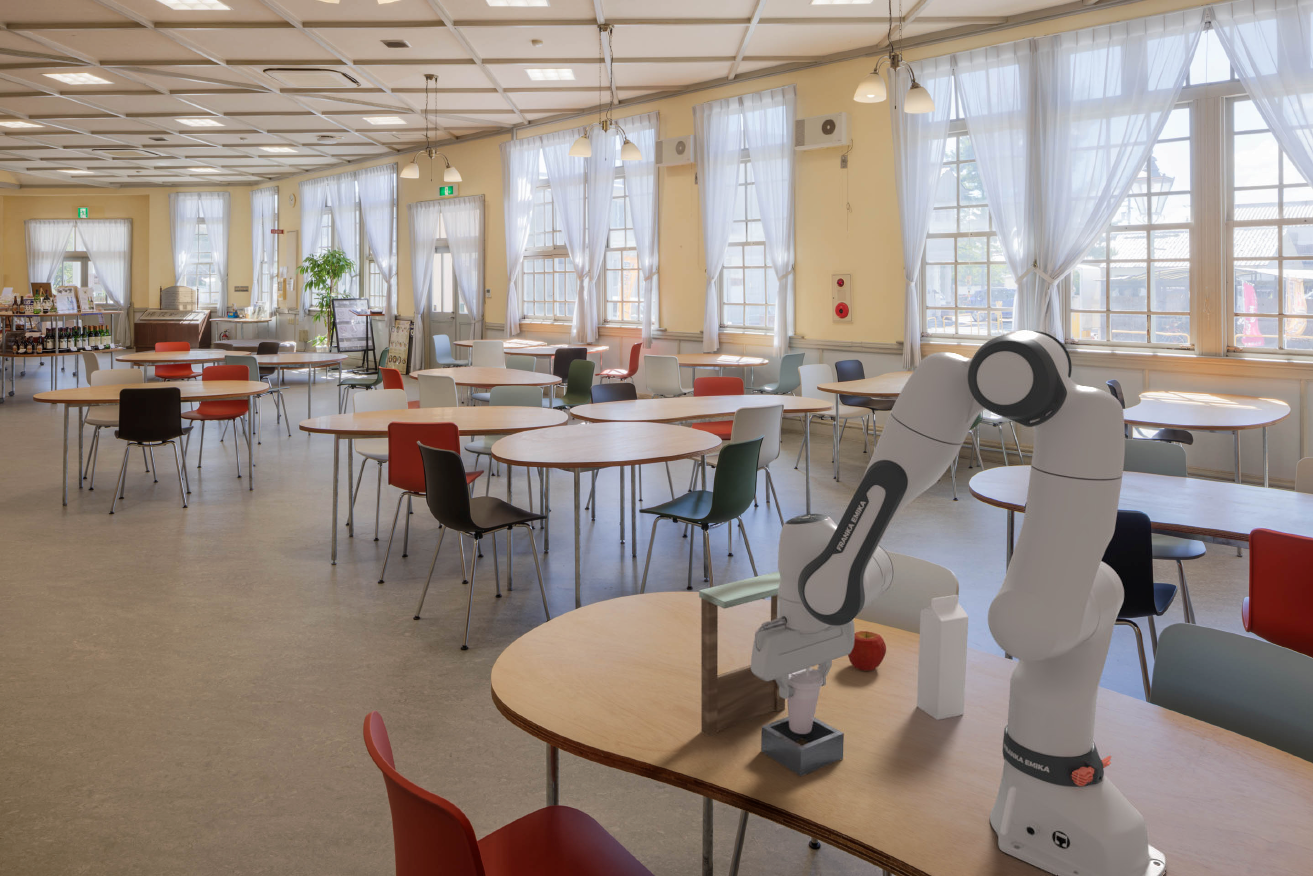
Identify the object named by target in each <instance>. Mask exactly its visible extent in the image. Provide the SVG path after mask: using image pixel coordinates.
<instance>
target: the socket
mask: <svg viewBox="0 0 1313 876" xmlns="http://www.w3.org/2000/svg"><path fill="white" fill-rule="evenodd" d="M760 730H761V733H760V734H761V737H760V738H761V739H760V740H761V741H760V744H761V745H760V747H761V748H760V751H761V752H762V753H763V754H765V755H767V757H770V759H773V760H774V761H776V762H777V763H779V764H781V765H782V766H784V767H786V768H787V769H788V770H790V771H792V772H793V773H794V774H796V775H798V776H799V777H803V776H805V775H808V774H810V773H812V772H815V771H817V770H820V769H821V768H824V767H826V765H827V766H829V765H832V764H833V763H836V762H839V761H840V759H841V760H842V759H844V739H845V738H844V737H845V735H844V732H842V731H841V730H839V729H837V728H836V727H833V726H832V725H829V724H828V723H826V722H824V721H822V720H820V719H819V718H817V717H815V716H814V720H813V725H812V729H811V732H809V733H807V734H798V733H795V732H793V731H791V730H790V728H789V716H786V717H783V718H781V719H778V720H776V721H773V722H770V723H767V724H765V725H761V727H760ZM801 740H804V741H805V742H807V743H805V744H803V745H801V744H799V743H798V741H801Z"/></svg>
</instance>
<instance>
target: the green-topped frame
mask: <svg viewBox="0 0 1313 876" xmlns="http://www.w3.org/2000/svg"><path fill="white" fill-rule="evenodd" d="M779 584H780V574H779V570H778V571H774V572H771V573H766V574H762V575H758V576H753V577H750V578H745V579H742V580H741V579H740V580H737V581H732V582H728V583H725V584H724V583H723V584H721V585H716V586H712V587H708V588H703V589H700V590H698V597H699V598H700V599H701V600H700V601H701V603H700V607H701V609H700V610H701V617H700V619H701V623H700V625H701V628H700V630H701V632H700V633H701V637H700V638H701V641H700V643H701V645H700V646H701V648H700V649H701V653H700V654H701V657H700V658H701V659H700V660H701V663H700V664H701V668H700V670H701V674H700V675H701V677H700V679H701V683H700V684H701V687H700V688H701V689H700V690H701V698H700V701H701V711H700V712H701V733H703V734H704V735H705V736H707V737H710V736H713V735H715V734H716V735H717V733H718V731H721V730H724V729H727V728H730V727H732V726H736V725H738V724H741V723H743V722H746V721H749V720H752V719H754V718H757V717H759V716H763V715H766V714H769V713H771V712H773V711H774V712H780V711H782V710H785V709H786V699H784V698H782V697H780V695H779V686H778V684H777V682H776V680H775V679H774V680H771V681H764V680H762V679H760V678H758V677H757V676H755V675H754V674H753V672H752V671H751V664H749V665H746V666H743V667H739V668H737V669H734V670H733V669H732V670H730V671H726V672H724V673H720V674H718V671H719V670H718V667H719V666H718V652H719V651H718V646H719V645H718V639H719V638H718V637H719V636H718V634H719V631H718V623H719V621H718V619H719V617H718V616H719V615H718V613H719V612H718V611H719V610H718V607H720V608H721V609H724V610H725V609H729V608H733V607H737V606H741V605H744V604H748V603H752V602H755V601H760V600H763V599H767V598H770V621H773V620H775V619H777V597H778V587H779Z"/></svg>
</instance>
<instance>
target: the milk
mask: <svg viewBox="0 0 1313 876" xmlns="http://www.w3.org/2000/svg"><path fill="white" fill-rule="evenodd" d="M919 618H920V619H919V643H918V644H919V647H918V666H917V667H918V668H917V669H918V670H917V671H918V672H917V694H916V695H917V697H916V707H918V709H920V710H922V711H923V712H925V713H926V714H928V715H929V716H931V717H932V718H934V719H935V720H936V721H939V720H944V719H949V718H954V717H957V716H958V717H959V716H962V715H964V714H965V713H964V710H965V693H966V691H965V690H966V673H967V657H968V656H967V654H968V634H969V631H968V629H969V615H968V614H967V613H966V611H965V610H964V609H963V607H962V606H961V604H960V603H959V595H958V594H953V595H948V596H940V597H934V598H931V601H930V606H928V607H926V608H923V609H921V610H920V617H919Z"/></svg>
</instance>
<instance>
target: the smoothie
mask: <svg viewBox="0 0 1313 876" xmlns="http://www.w3.org/2000/svg"><path fill="white" fill-rule="evenodd" d="M786 682H787V684H788V685H789V686H791V687H793V696H792V697H790V698H787V699H786V700H787V711H788V713H787V715H788V716H787V717H789V728H790V730H791V731H793V732H795V733H798V734H807V733H809V732H811V729H812V725H813V720H814V717H815V714H816V710H817V704H818V700H819V696H820V695H819V694H820V691H821V690H820V689H821V687H823V686H822V685H823V676H822V674H821V673H820V672H819V671H817V669H815V668H812V667H810V668H807V669H804V670H801V671H798V672H795V673H792V674H789V679H788V680H786Z"/></svg>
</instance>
